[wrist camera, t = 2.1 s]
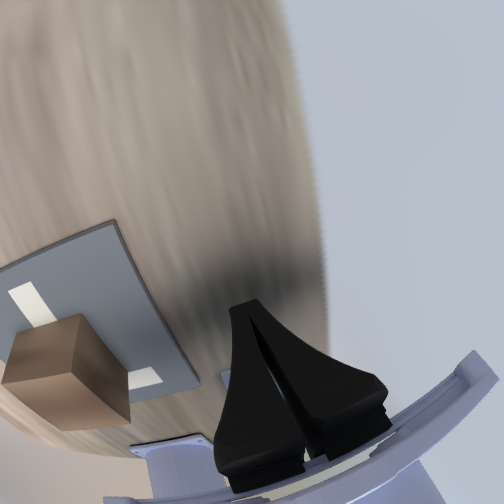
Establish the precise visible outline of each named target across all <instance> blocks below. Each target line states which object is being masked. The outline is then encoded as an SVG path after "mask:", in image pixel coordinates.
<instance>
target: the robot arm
mask: <svg viewBox="0 0 504 504" xmlns="http://www.w3.org/2000/svg"><path fill="white" fill-rule="evenodd" d="M229 313H230V317H231V324H232V362H231V372H230V379H229V385H228V391H227V396H226V400H225V404H224V408H223V412H222V415H221V419H220V422H219V425H218V428H217V430H216V433H215V436H214V445H213V444H212V443H211V442H209V441H208V440H207V439H206V438H205V437H204V436H202V435H193V436H189V437H184V438H180V439H175V440H170V441H164V442H159V443H153V444H147V445H140V446H133V447H130V448H129V449H130V451H131V452H132V453H134V454H136V455H138V456H140V457H142V458H144V459H146V461H147V466H148V471H149V477H150V482H151V487H152V491H153V496H154V498H153V499H134V498H130V497H103V502H104V504H446V502H445V501H444V499H443V497H442V496H441V494H440V492H439V491H438V489H437V488H436V486H435V485H434V483H433V481H432V480H431V478H430V477H429V475H428V474H427V472H426V470H425V469H424V467H423V466H422V464H421V463H420V461H419V460H418V459H419V458H420V457H422V456H423V455H424V454H426V453H427V452H428V451H429V450H430V449H432V448H433V447H434V446H435V445H437V444H438V443H439V442H440V441H441V440H443V438H445V437H446V436H447V435H448V434H449V433H450V432H451V431H453V430H454V429H455V428H456V427H457V426H458V425H459V424H460V423H461V422H462V421H463V420H464V419H465V418H466V417H467V416H468V415H469V414H470V413H471V412H472V411H473V410H474V409H475V408H476V407H477V406H478V405H479V404H480V403H481V402H482V400H483V399H484V398H485V397H486V396H487V395H488V394H489V393H490V392H491V390H492V389H493V388H494V387H495V386H496V385H497V383H498V382H499V381H500V379H499V378H498V376H497V375H496V374H495V373H494V372H493V370H492V369H491V368H490V367H489V366H488V364H487V363H486V362H485V361H484V360H483V359H482V358H481V356H480V355H479V354H478V353H477V352H476V351H475V350H473V351H472V352H471V353H470V354H469V355H467V356H466V357H465V358H464V359H463V360H462V361H461V362H460V363H459V364H458V366H457V367H456V368H455V370H454V372H453V373H451V374H450V375H449V376H448V377H447V378H446V379H444V380H443V381H442V382H441V383H439V384H438V385H437V386H436V387H434V388H433V389H432V390H430V391H429V392H428V393H427V394H425V395H424V396H423V397H421V398H420V399H418V400H417V401H416V402H414V403H413V404H412V405H410V406H409V407H407V408H406V409H404V410H403V411H401V412H400V413H398V414H397V415H395V416H394V417H392V418H390V419H389V418H388V417H387V415H386V414H385V412H386V409H385V407H384V406H383V402H384V401H385V399H386V397H387V395H388V390H387V388H386V387H385V385H384V384H383V383H382V382H381V381H380V380H379V379H378V378H377V377H376V376H375V375H374V374H371V373H368V372H365V371H362V370H359V369H356V368H353V367H351V366H348V365H346V364H344V363H341V362H339V361H337V360H335V359H333V358H331V357H329V356H327V355H325V354H323V353H322V352H320V351H318V350H316V349H315V348H313V347H311V346H310V345H308V344H307V343H305V342H304V341H302V340H301V339H299V338H298V337H297V336H295V335H294V334H293V333H292V332H290V331H289V330H288V329H287V328H285V327H284V326H283V325H282V324H281V323H280V322H278V321H277V320H276V319H275V318H274V317H273V316H272V315H271V314H270V313H269V312H268V311H267V310H266V309H265V308H264V307H263V305H262V304H261V303H260V302H259V300H257V299H254V300H251V301H248V302H245V303H242V304H239V305H236V306H233V307H230V309H229ZM269 370H270V371H269ZM270 372H271V373H270ZM271 374H272V375H271ZM272 376H273V377H272ZM273 378H274V379H275V381H276V383H277V385H278V387H279V389H280V391H281V393H282V395H283V397H284V398H283V397H282V395H281V393H280V391H279V389H278V387H277V385H276V383H275V381H274V379H273ZM394 432H396V433H394ZM393 433H394V434H393ZM391 434H393V435H392V436H390V435H391ZM388 436H390V437H389V438H388V439H386V440H385V441H383V442H382V443H380V444H379V445H378V446H377V448H376V449H375V450H374V451H373V452H371V453H370V454H369V456H370V458H369V459H368V460H366V461H364V462H362V463H360V464H358V465H356V466H354V467H352V468H350V469H348V470H346V471H344V472H342V473H340V474H338V475H336V476H333V477H331V478H329V479H327V480H325V481H323V482H320V483H318V484H315V485H313V486H311V487H308V488H306V489H303V490H301V491H298V492H296V493H293V494H291V495H288V496H285V497H282V498H280V499H277V500H274V501H270V499H269V498H262V497H255V498H250V499H246V500H240V501H235V502H231V501H234V500H239V499H243V498H247V497H250V496H254V495H257V494H261V493H264V492H268V491H271V490H274V489H277V488H280V487H283V486H286V485H289V484H292V483H294V482H297V481H300V480H302V479H305V478H307V477H310V476H312V475H314V474H317V473H319V472H321V471H324V470H326V469H328V468H331V467H332V466H335V465H337V464H339V463H341V462H343V461H345V460H347V459H349V458H351V457H353V456H355V455H357V454H359V453H360V452H362V451H364V450H366V449H367V448H369V447H371V446H373V445H375V444H376V443H378V442H380V441H381V440H383V439H385V438H386V437H388ZM305 448H306V450H307V452H308V454H309V457H310V459H311V460H310V461H307V462H305V461H304V453H305ZM223 475H224V476H226V477H228V480H229V483H230V487H227V485H226V482H225V479H224V476H223Z"/></svg>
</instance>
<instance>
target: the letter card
mask: <svg viewBox="0 0 504 504" xmlns="http://www.w3.org/2000/svg"><path fill="white" fill-rule="evenodd" d="M80 313H82V314H83V316H84V317H85V318H86V320H87V321H88V323H89V324H90V325H91V327H92V328H93V329H94V331H95V332H96V333H97V335H98V336H99V337H100V339H101V340H102V341H103V342H104V344H105V345H106V346H107V347H108V349H109V350H110V351H111V352H112V353H113V355H114V356H115V357H116V358H117V359H118V361H119V362H120V363H121V364H122V365H123V366H124V368H125V369H126V370H127V371H128V388H129V403H132V402H137V401H142V400H146V399H151V398H155V397H159V396H164V395H168V394H172V393H176V392H180V391H183V390H187V389H191V388H194V387H198V386H201V384H200V380H199V378H198V377H197V375H196V374H195V372H194V370H193V369H192V367H191V366H190V364H189V363H188V361H187V359H186V358H185V356H184V355H183V353H182V351H181V350H180V348H179V346H178V345H177V343H176V341H175V340H174V338H173V336H172V334H171V333H170V331H169V329H168V328H167V326H166V324H165V322H164V320H163V319H162V317H161V315H160V313H159V311H158V310H157V308H156V306H155V304H154V302H153V300H152V298H151V296H150V295H149V293H148V291H147V289H146V287H145V285H144V283H143V281H142V279H141V277H140V275H139V273H138V271H137V269H136V267H135V264H134V262H133V260H132V258H131V256H130V254H129V252H128V249H127V247H126V245H125V243H124V240H123V238H122V236H121V234H120V231H119V229H118V227H117V224H116V222H115V219H113V220H111V221H108V222H105V223H103V224H100V225H98V226H95V227H93V228H90V229H88V230H85V231H83V232H80V233H78V234H75V235H73V236H71V237H68V238H66V239H64V240H61V241H59V242H57V243H54V244H52V245H50V246H48V247H45V248H43V249H41V250H39V251H37V252H34V253H32V254H30V255H28V256H26V257H24V258H22V259H20V260H18V261H16V262H14V263H12V264H10V265H8V266H6V267H4V268H2V269H0V359H1V360H2V361H3V362H4V363H5V364H7V361H8V357H9V354H10V351H11V348H12V345H13V342H14V339H15V336H16V333H19V332H22V331H25V330H28V329H32V328H35V327H38V326H41V325H44V324H48V323H51V322H54V321H57V320H60V319H64V318H67V317H70V316H73V315H76V314H80Z"/></svg>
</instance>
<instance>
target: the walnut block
mask: <svg viewBox="0 0 504 504" xmlns="http://www.w3.org/2000/svg"><path fill="white" fill-rule="evenodd" d="M1 384H2V385H3V386H4V387H5V388H6V389H7V390H8V391H9V392H11V393H12V394H13V395H14V396H15V397H16V398H18V399H19V400H20V401H21V402H22V403H24V404H25V405H26V406H27V407H29V408H30V409H31V410H33V411H34V412H35V413H37V414H38V415H39V416H41V417H42V418H43V419H45V420H46V421H48V422H49V423H50V424H52V425H53V426H55V427H56V428H58V429H59V430H61V431H72V430H85V429H95V428H104V427H111V426H118V425H125V424H131V419H130V406H129V388H128V371H127V370H126V369H125V368H124V366H123V365H122V364H121V363H120V362H119V361H118V359H117V358H116V357H115V356H114V355H113V353H112V352H111V351H110V350H109V349H108V347H107V346H106V345H105V344H104V342H103V341H102V340H101V339H100V337H99V336H98V335H97V333H96V332H95V331H94V329H93V328H92V327H91V325H90V324H89V323H88V321H87V320H86V318H85V317H84V316H83V314H82V313H80V314H76V315H73V316H70V317H67V318H64V319H60V320H57V321H54V322H51V323H48V324H44V325H41V326H38V327H35V328H32V329H28V330H25V331H22V332H19V333H16V336H15V339H14V342H13V345H12V348H11V351H10V354H9V357H8V361H7V364H6V368H5V371H4V375H3V379H2V383H1Z"/></svg>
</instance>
